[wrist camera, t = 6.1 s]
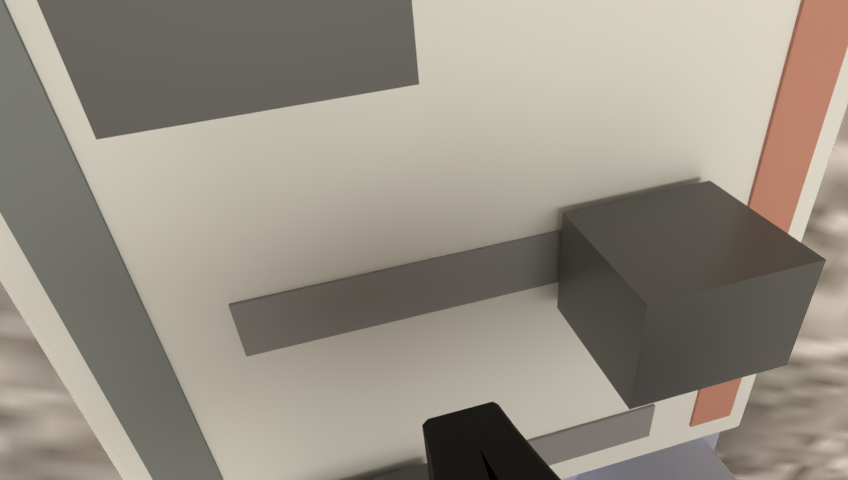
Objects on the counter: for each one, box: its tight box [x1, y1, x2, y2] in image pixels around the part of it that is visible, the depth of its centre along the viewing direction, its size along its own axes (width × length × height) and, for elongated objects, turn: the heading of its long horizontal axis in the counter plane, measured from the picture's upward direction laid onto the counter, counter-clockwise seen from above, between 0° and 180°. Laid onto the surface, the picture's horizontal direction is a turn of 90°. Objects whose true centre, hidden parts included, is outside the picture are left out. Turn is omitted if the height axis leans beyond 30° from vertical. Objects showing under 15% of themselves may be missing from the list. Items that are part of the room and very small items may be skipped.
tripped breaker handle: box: [557, 181, 826, 410], centre depth 14 cm, size 3×4×4 cm
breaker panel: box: [0, 0, 848, 480], centre depth 14 cm, size 20×20×7 cm
